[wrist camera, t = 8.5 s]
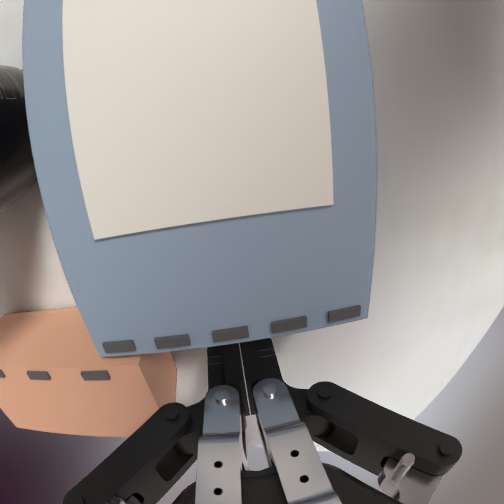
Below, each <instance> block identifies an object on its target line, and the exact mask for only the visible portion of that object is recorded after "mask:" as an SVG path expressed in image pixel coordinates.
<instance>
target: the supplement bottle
mask: <svg viewBox="0 0 504 504" xmlns="http://www.w3.org/2000/svg"><path fill="white" fill-rule="evenodd" d="M36 178H37V174H36V169H35V164H34V159H33V154H32V148H31V142H30V135H29V129H28V121H27V113H26V104H25V93H24V78H23V70H21V69H18V68H15V67H10V66H3V65H0V209H2V208H3V207H5V206H6V205H8V204H9V203H11V202H13V201H14V200H16V199H17V198H19V197H20V196H21V195H22V194H24V193H25V192H26V191H27V190H28V189H29V188H30V186H31V185H32V184H33V182H34V181H35V179H36Z"/></svg>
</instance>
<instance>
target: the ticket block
mask: <svg viewBox="0 0 504 504" xmlns="http://www.w3.org/2000/svg"><path fill="white" fill-rule="evenodd" d="M22 49H23V78H24V93H25V104H26V113H27V121H28V129H29V135H30V142H31V148H32V154H33V159H34V164H35V169H36V174H37V179H38V184H39V188H40V192H41V196H42V200H43V204H44V208H45V212H46V216H47V219H48V223H49V227H50V230H51V233H52V237H53V240H54V243H55V246H56V249H57V253H58V256H59V259H60V262H61V264H62V267H63V270H64V273H65V276H66V279H67V281H68V284H69V287H70V289H71V292H72V294H73V297H74V299H75V302H76V304H77V307H78V309H79V312H80V314H81V316H82V319H83V321H84V323H85V325H86V328H87V330H88V332H89V334H90V337H91V339H92V341H93V343H94V345H95V347H96V349H97V351H98V353H99V355H100V357H108V356H123V355H137V354H148V353H159V352H169V351H179V350H188V349H196V348H204V347H212V346H219V345H227V344H234V343H240V342H247V341H253V340H259V339H265V338H271V337H277V336H283V335H288V334H294V333H299V332H304V331H309V330H314V329H319V328H324V327H329V326H334V325H338V324H343V323H347V322H352V321H356V320H361V319H365V318H367V317H368V309H369V301H370V292H371V281H372V270H373V258H374V243H375V224H376V191H377V158H376V125H375V107H374V93H373V81H372V71H371V62H370V53H369V45H368V38H367V31H366V24H365V18H364V12H363V6H362V1H361V0H24V11H23V39H22Z"/></svg>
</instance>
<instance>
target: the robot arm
mask: <svg viewBox="0 0 504 504" xmlns="http://www.w3.org/2000/svg"><path fill="white" fill-rule="evenodd" d="M240 347H241V354H242V360H243V367H244V373H245V380H246V386H247V392H248V398H249V404H250V410H251V415H254V414H256V418H257V424H258V430H259V433H260V437H261V440H262V444H263V447H264V451H265V454H266V457H267V461H268V465H269V468H266V469H264V470H261V471H249V468H248V453H247V434H246V426H247V425H246V417H245V416H248V415H250V413H249V407H248V401H247V394H246V388H245V381H244V375H243V368H242V362H241V355H240V349H239V343H234V344H227V345H219V346H212V347H208V349H207V356H208V387H209V389H208V392H207V394H206V396H205V398H204V399H203V400H202V401H200V402H198V403H196V404H194V405H191V406H188V407H185V406H184V405H183V404H180V403H175V402H174V403H168V404H165V405H163V406H162V407H160V408H159V409H158V410H157V411H156V412H155V413H154V414H153V415H152V416H151V417H150V418H149V419H148V420H147V421H146V422H145V423H144V424H143V425H141V426H140V427H139V428H138V429H137V430H136V431H135V432H134V433H133V434H132V435H131V436H130V437H129V438H128V439H127V440H126V441H124V442H123V443H122V444H121V445H120V446H119V447H118V448H117V449H116V450H115V451H114V452H113V453H112V454H111V455H110V456H108V457H107V458H106V459H105V460H104V461H103V462H102V463H101V464H99V465H98V466H97V467H96V468H95V469H94V470H93V471H92V472H90V473H89V474H88V475H87V476H86V477H85V478H84V479H83V480H82V481H80V482H79V483H78V484H77V485H76V486H75V487H74V488H72V490H70V491H69V492H68V493H67V494H66V495H65V497H64V500H63V504H156V503H157V502H158V501H159V500H160V499H161V498H162V497H163V496H164V495H165V493H167V492H168V490H169V489H170V488H171V487H172V486H173V485H174V484H175V483H176V482H177V481H178V480H179V479H180V477H181V476H182V475H183V474H184V473H185V472H186V471H187V470H188V469H189V468H190V466H191V465H192V464H193V463H194V462H195V461H196V460H197V475H196V482H194V483H192V484H191V485H189V486H188V487H187V488H186V489H184V490H183V491H182V492H181V494H180V495H179V496H178V497H177V498H176V500H175V501H174V502H173V503H172V504H428V502H429V501H430V499H431V497H432V495H433V494H434V492H435V490H436V488H437V486H438V485H439V483H440V480H441V479H442V478H443V477H444V476H445V474H447V472H448V471H449V470H450V469H451V468H452V467H453V466H454V465H455V463H456V462H457V461H458V460H459V458H460V457H461V454H462V446H461V444H460V442H459V441H458V440H457V439H456V438H455V437H453V436H450V435H448V434H445V433H443V432H440V431H438V430H435V429H433V428H430V427H428V426H426V425H423V424H421V423H418V422H416V421H414V420H411V419H409V418H407V417H405V416H402V415H400V414H398V413H395V412H393V411H391V410H389V409H387V408H384V407H382V406H380V405H378V404H376V403H374V402H371V401H369V400H367V399H365V398H363V397H361V396H359V395H357V394H355V393H352V392H350V391H348V390H346V389H344V388H342V387H340V386H338V385H336V384H334V383H332V382H318V383H316V384H314V385H312V386H311V387H310V388H309V389H297V388H293V387H290V386H289V385H287V384H286V383H285V382H284V381H283V379H282V376H281V372H280V369H279V365H278V362H277V358H276V355H275V351H274V347H273V344H272V340H271V339H270V338H265V339H259V340H253V341H247V342H240ZM312 440H313V441H314V442H316V443H318V444H319V445H321V446H323V447H325V448H326V449H328V450H330V451H332V452H333V453H335V454H337V455H339V456H341V457H342V458H344V459H346V460H348V461H350V462H352V463H354V464H356V465H357V466H360V467H361V468H364V469H365V470H367V471H369V472H371V473H373V474H375V475H377V476H378V484H379V487H380V488H381V489H382V490H383V491H384V492H386V493H387V494H388V495H389V496H390V497H389V496H388V495H386V494H384V493H382V492H380V491H378V490H376V489H374V488H373V487H371V486H369V485H367V484H365V483H363V482H362V481H360V480H358V479H356V478H355V477H353V476H351V475H350V474H348V473H346V472H345V471H343V470H341V469H339V468H337V467H335V466H332V465H329V464H325V463H322V462H321V460H320V458H319V455H318V453H317V450H316V448H315V446H314V443H313V441H312Z"/></svg>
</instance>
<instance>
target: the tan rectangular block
mask: <svg viewBox="0 0 504 504" xmlns="http://www.w3.org/2000/svg"><path fill="white" fill-rule="evenodd" d="M176 381H177V368H176V365H175V362H174V359H173V356H172V353H171V351H169V352H159V353H148V354H137V355H123V356H108V357H100V355H99V353H98V351H97V349H96V347H95V345H94V343H93V341H92V339H91V337H90V334H89V332H88V330H87V328H86V325H85V323H84V321H83V319H82V316H81V314H80V312H79V309H78V307H70V308H60V309H50V310H40V311H30V312H19V313H7V314H5V315H4V316H3V317H2V319H1V320H0V408H1V409H2V410H3V412H4V413H5V414H6V415H7V416H8V418H9V419H10V420H11V421H12V422H13V423H14V425H15V426H16V427H19V428H24V429H31V430H38V431H45V432H53V433H63V434H73V435H86V436H104V437H105V436H107V437H130V436H131V435H132V434H133V433H134V432H135V431H136V430H137V429H138V428H139V427H140V426H141V425H143V424H144V423H145V422H146V421H147V420H148V419H149V418H150V417H151V416H152V415H153V414H154V413H155V412H156V411H157V410H158V409H159V408H160V407H162V406H163V405H165V404H168V403H174V402H175V397H176Z"/></svg>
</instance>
